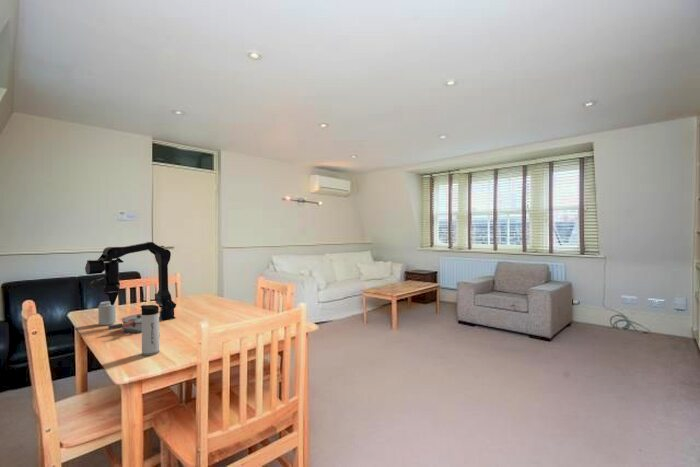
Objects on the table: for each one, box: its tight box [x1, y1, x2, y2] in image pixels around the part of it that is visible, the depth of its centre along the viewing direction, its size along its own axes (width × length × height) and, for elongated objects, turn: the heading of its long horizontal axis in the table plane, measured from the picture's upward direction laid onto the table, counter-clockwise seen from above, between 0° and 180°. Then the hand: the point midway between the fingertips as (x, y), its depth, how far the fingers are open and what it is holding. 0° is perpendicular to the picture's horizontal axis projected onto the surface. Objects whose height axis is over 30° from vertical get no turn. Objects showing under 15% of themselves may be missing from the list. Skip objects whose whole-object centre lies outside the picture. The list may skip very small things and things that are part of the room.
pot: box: [107, 316, 163, 335], centre depth 173 cm, size 23×14×5 cm, turn 137°
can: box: [97, 300, 117, 327], centre depth 183 cm, size 8×8×12 cm
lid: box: [121, 313, 142, 328], centre depth 171 cm, size 20×15×2 cm
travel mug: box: [140, 304, 160, 357], centre depth 141 cm, size 6×7×20 cm
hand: (112, 303), depth 171 cm, fingers open, 9 cm apart
